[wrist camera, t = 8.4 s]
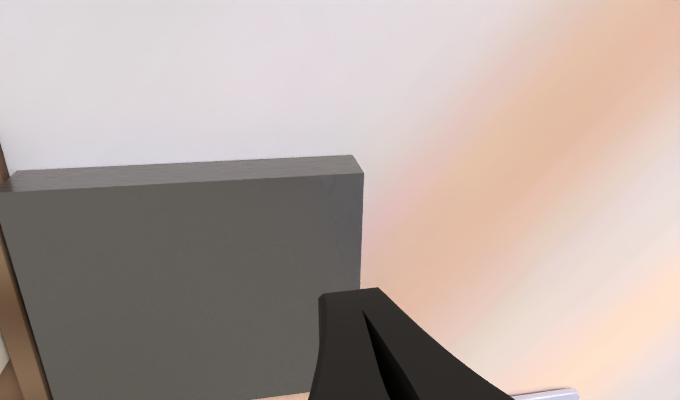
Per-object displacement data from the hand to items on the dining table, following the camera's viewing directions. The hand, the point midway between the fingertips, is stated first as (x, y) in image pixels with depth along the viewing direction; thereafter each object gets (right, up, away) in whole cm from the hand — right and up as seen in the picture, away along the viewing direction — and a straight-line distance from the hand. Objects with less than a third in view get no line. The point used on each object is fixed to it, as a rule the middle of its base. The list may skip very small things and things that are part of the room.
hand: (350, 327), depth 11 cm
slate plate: (-6, 0, +9) cm, 11 cm away
